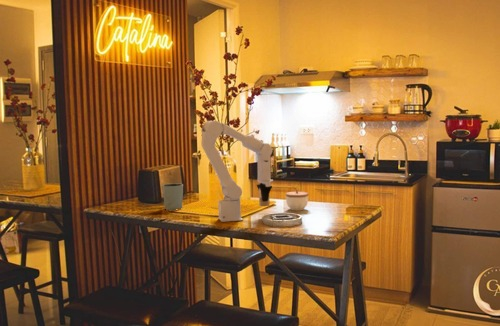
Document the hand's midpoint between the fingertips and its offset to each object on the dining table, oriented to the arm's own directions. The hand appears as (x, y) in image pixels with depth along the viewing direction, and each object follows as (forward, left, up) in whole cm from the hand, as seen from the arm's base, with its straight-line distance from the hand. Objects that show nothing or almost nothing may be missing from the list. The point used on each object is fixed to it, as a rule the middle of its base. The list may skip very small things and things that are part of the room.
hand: (264, 200), depth 227 cm
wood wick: (0, 0, -2) cm, 2 cm away
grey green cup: (-38, +32, -7) cm, 50 cm away
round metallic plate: (+4, -14, -7) cm, 16 cm away
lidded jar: (+19, +12, -7) cm, 24 cm away
